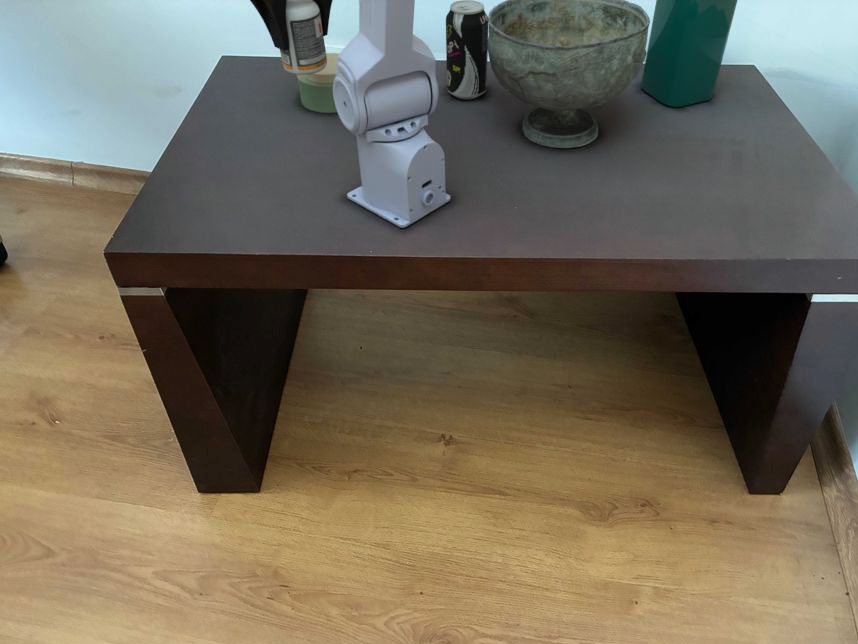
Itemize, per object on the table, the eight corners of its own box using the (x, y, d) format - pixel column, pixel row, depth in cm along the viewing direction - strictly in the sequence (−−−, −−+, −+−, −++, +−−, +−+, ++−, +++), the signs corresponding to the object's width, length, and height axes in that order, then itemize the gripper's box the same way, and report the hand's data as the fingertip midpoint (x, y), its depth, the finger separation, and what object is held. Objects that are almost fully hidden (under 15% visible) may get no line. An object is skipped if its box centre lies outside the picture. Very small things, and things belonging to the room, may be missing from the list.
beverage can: (439, 89, 103) (437, 2, 95) (474, 81, 105) (475, -5, 97) (459, 105, 100) (458, 16, 91) (494, 96, 102) (496, 8, 93)
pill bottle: (332, 59, 94) (321, -23, 87) (321, 77, 90) (309, -6, 83) (289, 57, 94) (275, -24, 87) (277, 75, 90) (261, -8, 83)
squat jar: (377, 97, 101) (374, 62, 98) (329, 119, 97) (324, 83, 93) (336, 79, 106) (332, 45, 102) (287, 99, 101) (281, 64, 97)
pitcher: (634, 86, 104) (664, -85, 89) (682, 76, 107) (719, -93, 91) (675, 115, 98) (715, -65, 82) (724, 103, 100) (772, -73, 85)
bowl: (580, 86, 104) (593, -25, 94) (660, 145, 92) (686, 25, 81) (458, 113, 98) (457, -3, 87) (526, 180, 86) (535, 55, 75)
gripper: (310, -101, 86) (325, 16, 95) (206, -76, 78) (234, 49, 87) (349, -91, 82) (361, 30, 92) (245, -64, 75) (270, 65, 84)
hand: (301, 40), depth 89 cm, fingers closed on pill bottle, 5 cm apart
